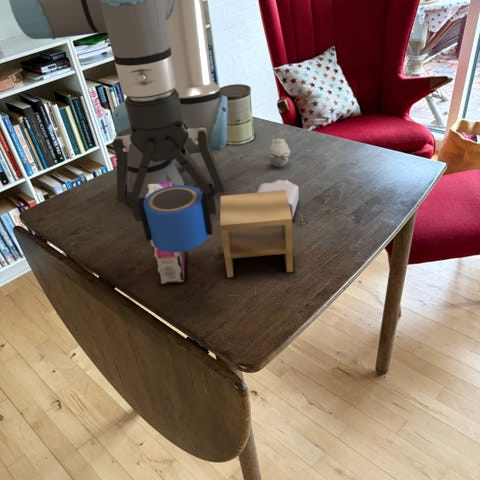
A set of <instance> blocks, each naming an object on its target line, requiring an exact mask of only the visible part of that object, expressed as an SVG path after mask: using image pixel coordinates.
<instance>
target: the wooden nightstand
mask: <svg viewBox="0 0 480 480" xmlns="http://www.w3.org/2000/svg"><path fill="white" fill-rule="evenodd" d="M257 192H258V191H257ZM257 192H249V193H239V194H229V195H228V194H227V195H220V199H219V200H220V203H219V204H220V205H219V206H220V207H219V208H220V210H219V211H220V212H219V227H220V234H221V235H220V236H221V242H222V249H223V257H224V264H225V269H226V271H225V272H226V278H233V277H234V259H240V258H241V259H242V258H250V257H251V258H252V257H263V256H273V255H283V259H284V263H285V271H286V273H292V272H294V268H293V265H294V263H293V219H292V217H291V212H290V207H289V202H288V198H287V193H286V190H279V191H268V192H258V193H257Z"/></svg>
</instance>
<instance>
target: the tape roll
mask: <svg viewBox="0 0 480 480" xmlns="http://www.w3.org/2000/svg"><path fill="white" fill-rule="evenodd" d="M202 194H203V191H202V190H201V189H200V188H197V187H195V186H191V185H185V184H184V185H177V186H169V187H165V188H162V189H159V190H157V191H154V192H153V193H151V194H150V195H148V196H147V197H146V198H145V200H144V203H143V206H144V210H145V214H146V218H147V221H148V225H149V229H150V233H151V237H152V241H153V244H154V245H155V247H157V248H158V249H160V250H162V251H166V252H183V251H185V252H187V251H191V250H194V249H196V248H198V247H200V246H202V245H203V244H204V243H205V242H206V241H207V239H208V238H209V235H208V233H207V227H206V220H205V214H204V208H203V202H202Z"/></svg>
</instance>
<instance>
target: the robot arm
mask: <svg viewBox="0 0 480 480" xmlns="http://www.w3.org/2000/svg"><path fill="white" fill-rule="evenodd" d="M8 2H9V6H10V9H11V13H12V15H13V17H14V19H15V21H16V24H17V26H18V27H19V29H20V30H21V31H22V33H23V34H24V35H25V36H26V37H28V38H30V39H31V40H32V39H33V40H49V39H50V40H51V39H52V40H56V39H61V38H70V37H79V36H86V35H95V34H105V33H107V36H108V40H109V44H110V47H111V51H112V56H113V60H114V65H115V70H116V73H117V77H118V81H119V84H120V88H121V93H122V94H123V95H124V96H125V98H124V101H123V102H121V103H119V104H118V105H117V106H116V107H115V108H114V110H113V111H112V121H113V124H114V132H115V133H116V135H115V136H114V138H113V140H112V143H111V145H112V147H113V150H114V153H115V156H116V200H117V201H118V203H121V204H122V203H128V204H129V205H130V206H131V209H132V213H133V216H134V220H135V221H136V222H141V223H142V228H143V232H144V235H145V239H146V241H151V240H152V237H151V233H150V229H149V225H148V221H147V218H146V214H145V210H144V206H143V203H144V200H145V198H146V194H147V188H148V184H156V183H164V182H172V186H177V185H185V182H184V180H183V178H182V176H181V175H180V171H183V170H185V171H186V172H187V174H188V175H189V176H190V178H191V179H192V181H194V183H195V184H196V185H197V186H198V188H199V190H200V191H201V192H202V202H203V208H204V214H205V220H206V227H207V233H208V236H212V235H213V229H214V227H213V219H212V215H216V213H217V202H216V195H217V194H222V193H224V192H225V180H224V178H223V175H222V173H221V170H220V168H219V165H218V162H217V160H216V158H215V156H214V153H213V152H219V151H222V150H223V149H224V148H225V147H226V145H227V144H226V139H227V113H228V105H227V97H226V96H224V95H222V96H221V95H220V88H221V87H220V86H219V85H218V84H217V83H216V82H214V80H213V76H212V67H211V59H210V50H209V41H208V32H207V24H206V23H207V22H206V15H205V5H204V0H8ZM115 133H114V134H115ZM190 154H200V155H201V158H202V161H203V162H204V164H205V167H206V170H207V171H208V173H209V176H210V178H211V181H212V182H211V181H210V179H209V178H208V177H207V175H206V174H205V173H204V171H203V170H202V169H201V168H200V166H199V165H198V163H196V161H195V159H193V157H192V156H191V155H190ZM174 161H176V162H177V163H178V164H179V165H180V166H179V167H176V165H175V164H174Z"/></svg>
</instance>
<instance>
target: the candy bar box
mask: <svg viewBox="0 0 480 480" xmlns="http://www.w3.org/2000/svg"><path fill="white" fill-rule="evenodd" d="M169 186H172V182H164V183H156V184H148V188H147V194H146V197H147V196H148V195H150V194H151V193H153V192H154V191H157V190H159V189H162V188H165V187H169ZM150 244H151V248H152V252H153V256H154V260H155V263H156V269H157V273H158V276H159V280H160V284H161V285H165V284H176V283H178V284H179V283H184V282H185V262H186V251H183V252H166V251H162V250H160V249H158V248H157V247H155V245H154V244H153V241H152V240H150Z"/></svg>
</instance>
